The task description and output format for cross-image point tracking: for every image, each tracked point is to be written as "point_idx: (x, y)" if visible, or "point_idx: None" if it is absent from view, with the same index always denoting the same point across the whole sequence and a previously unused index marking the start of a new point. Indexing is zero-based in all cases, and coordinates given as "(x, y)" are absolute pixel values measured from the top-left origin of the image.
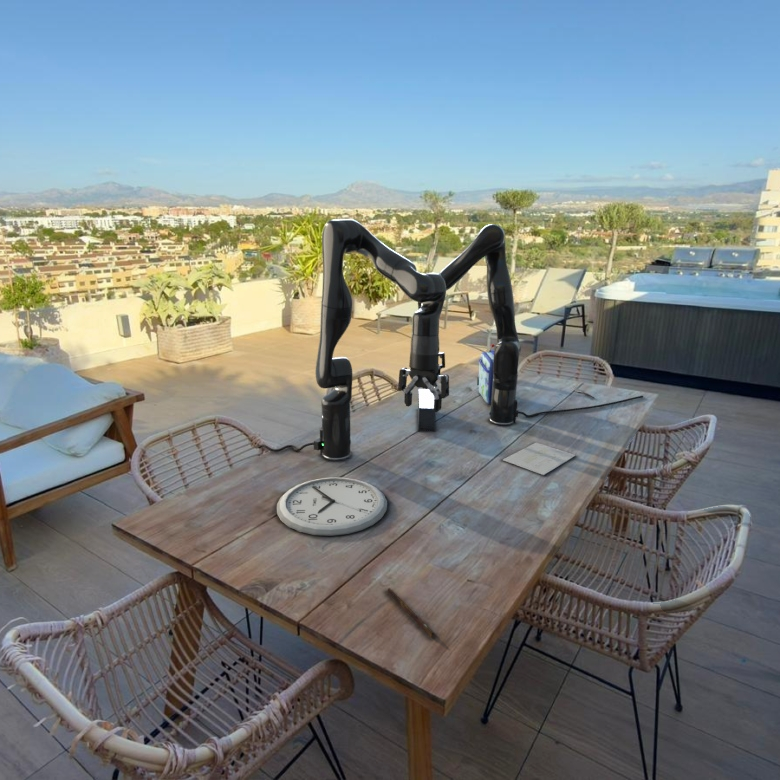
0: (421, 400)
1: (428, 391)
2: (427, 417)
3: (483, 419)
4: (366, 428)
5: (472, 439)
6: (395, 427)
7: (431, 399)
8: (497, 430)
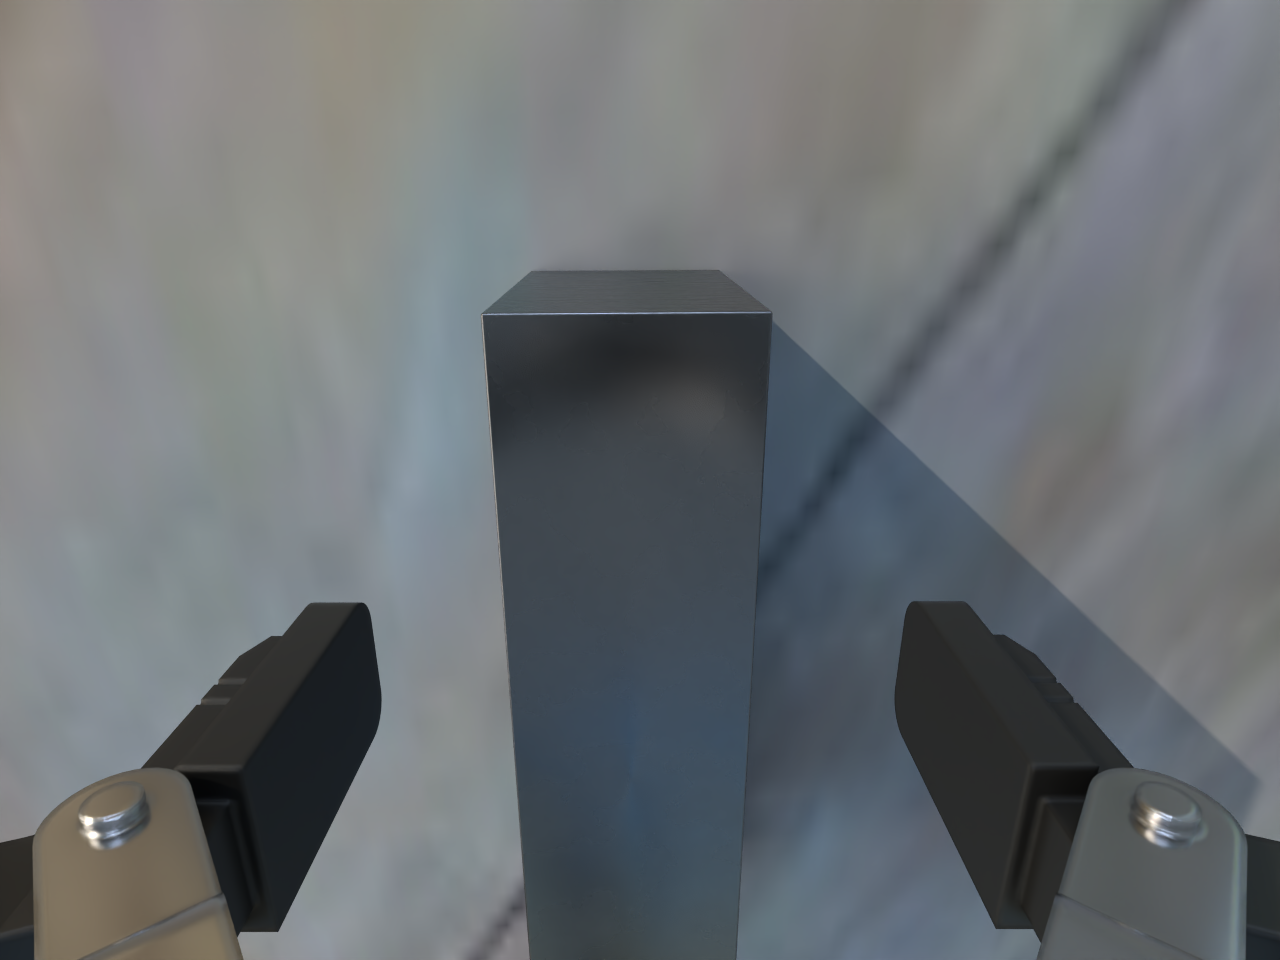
0: (557, 869)
1: (672, 457)
2: None
3: (1261, 521)
4: None
5: (990, 945)
6: (345, 796)
7: (701, 820)
8: (1273, 772)
